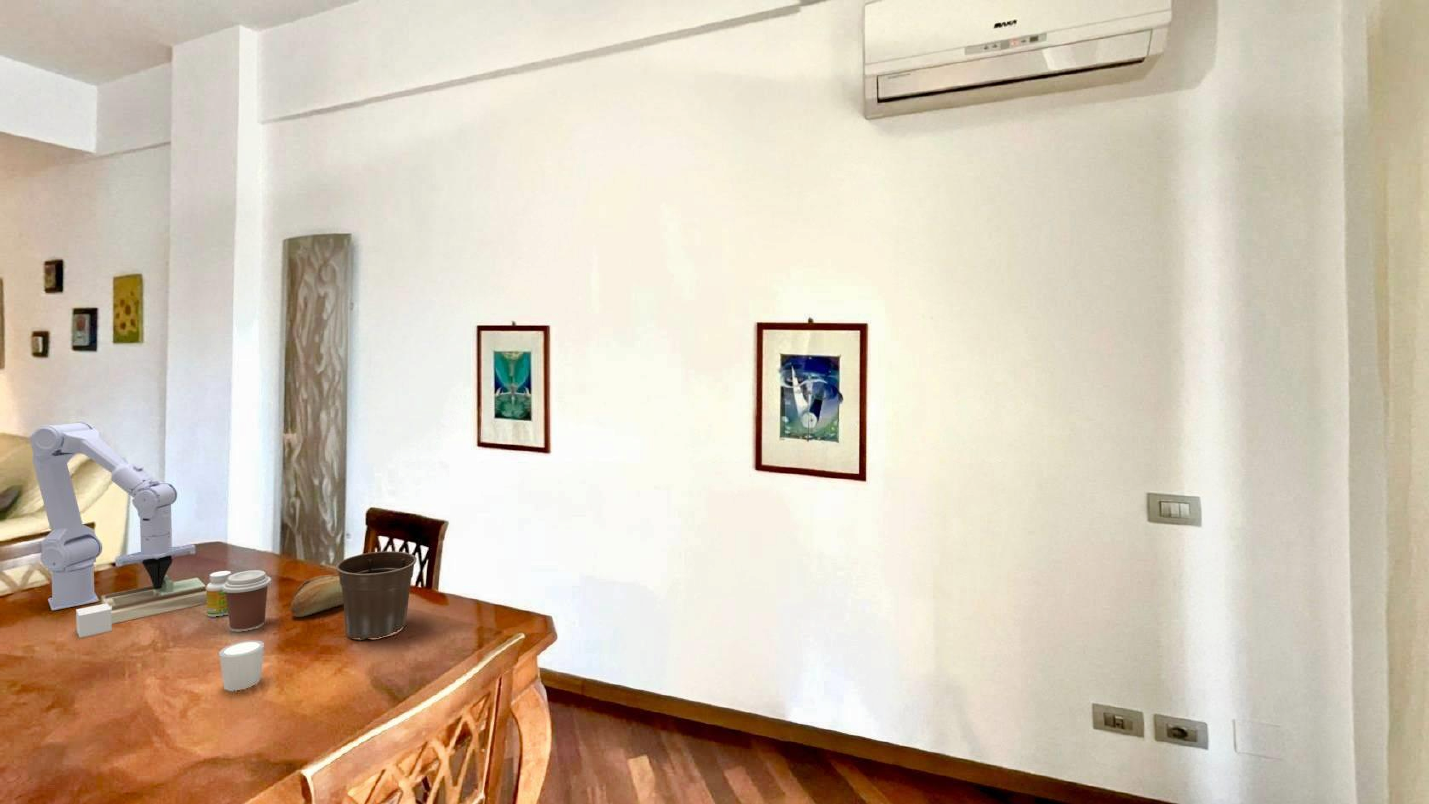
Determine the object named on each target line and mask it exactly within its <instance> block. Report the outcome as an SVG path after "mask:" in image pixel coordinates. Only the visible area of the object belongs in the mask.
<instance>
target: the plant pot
mask: <svg viewBox="0 0 1429 804" xmlns="http://www.w3.org/2000/svg"><path fill="white" fill-rule="evenodd" d="M416 563H417V556H415V555H414V554H412V553H409V552H404V551H396V550H394V551H393V550H390V551H373V552H367V553H361V554H357V555H353V556H350V557H347V558H345V559H343V560H341V561H339V562H338V563H337V564H336V566H335V570H336V571H337V572H338V576H339V579H340V585H341V586H342V593H343V603H344V604H343V610H344V624H345V633H346V634H345V635H346V636H347V635H348V636H349V637H351V638H360V639H364V640H366V638H379V637H383V636H387V635H389V634H391V633H393V632H397V631H398V630H400V629H401V628H402V627H404V626H405V624H406V625H407V615H408V607H409V599H410V592H411V591H410V590H411V581H412V578H413V575H414V569H415V564H416ZM405 627H406V626H405ZM405 627H404V628H405ZM348 636H347V637H348ZM349 637H348V638H349ZM351 638H350V639H351Z"/></svg>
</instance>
